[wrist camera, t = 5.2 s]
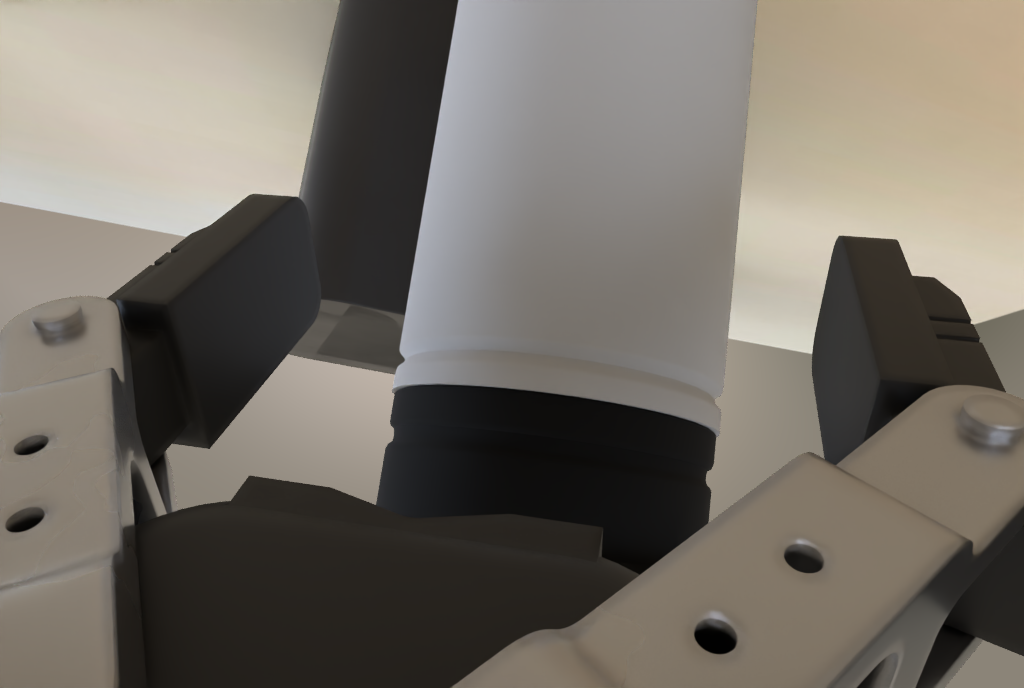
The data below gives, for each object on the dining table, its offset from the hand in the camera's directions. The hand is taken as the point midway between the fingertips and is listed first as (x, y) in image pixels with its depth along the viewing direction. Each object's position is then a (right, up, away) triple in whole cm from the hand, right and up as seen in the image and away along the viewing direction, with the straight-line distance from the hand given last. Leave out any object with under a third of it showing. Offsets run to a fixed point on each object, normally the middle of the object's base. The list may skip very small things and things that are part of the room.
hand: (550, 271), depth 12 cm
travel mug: (+3, +14, +6) cm, 16 cm away
